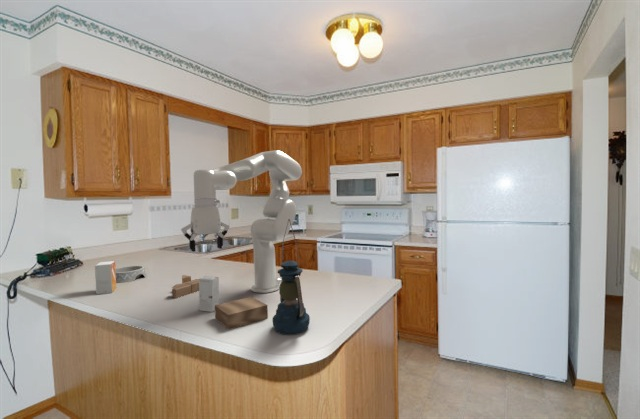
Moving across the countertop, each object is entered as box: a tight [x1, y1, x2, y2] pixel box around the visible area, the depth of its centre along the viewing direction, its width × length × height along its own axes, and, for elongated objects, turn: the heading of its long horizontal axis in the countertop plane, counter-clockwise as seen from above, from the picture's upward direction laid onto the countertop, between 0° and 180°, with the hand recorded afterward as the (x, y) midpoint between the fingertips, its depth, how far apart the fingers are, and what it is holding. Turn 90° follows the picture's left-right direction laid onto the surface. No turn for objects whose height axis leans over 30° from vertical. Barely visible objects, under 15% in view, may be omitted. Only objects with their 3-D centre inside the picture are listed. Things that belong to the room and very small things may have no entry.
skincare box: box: [198, 275, 220, 313], centre depth 122 cm, size 6×4×12 cm
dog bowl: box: [115, 265, 148, 284], centre depth 172 cm, size 17×18×5 cm
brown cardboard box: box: [214, 296, 269, 330], centre depth 113 cm, size 14×12×5 cm
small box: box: [94, 260, 117, 295], centre depth 149 cm, size 8×6×13 cm
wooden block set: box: [171, 274, 200, 299], centre depth 148 cm, size 17×6×18 cm
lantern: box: [272, 219, 311, 336], centre depth 103 cm, size 14×12×35 cm
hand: (206, 249), depth 121 cm, fingers open, 9 cm apart
